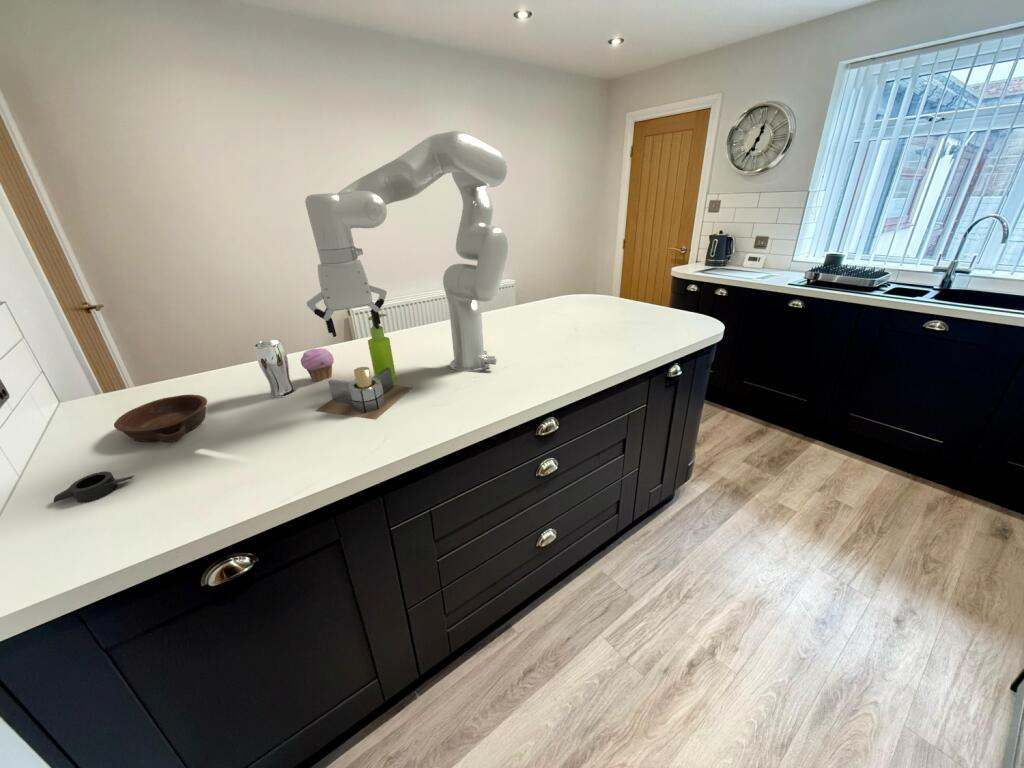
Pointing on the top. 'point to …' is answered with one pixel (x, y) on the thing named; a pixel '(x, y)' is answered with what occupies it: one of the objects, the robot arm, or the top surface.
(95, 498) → the black ring with arms
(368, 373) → the hinge pin
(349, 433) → the top surface
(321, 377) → the cupcake
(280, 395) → the beer glass
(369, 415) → the hinge base
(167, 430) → the dish
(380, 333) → the soap dispenser
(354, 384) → the hinge
